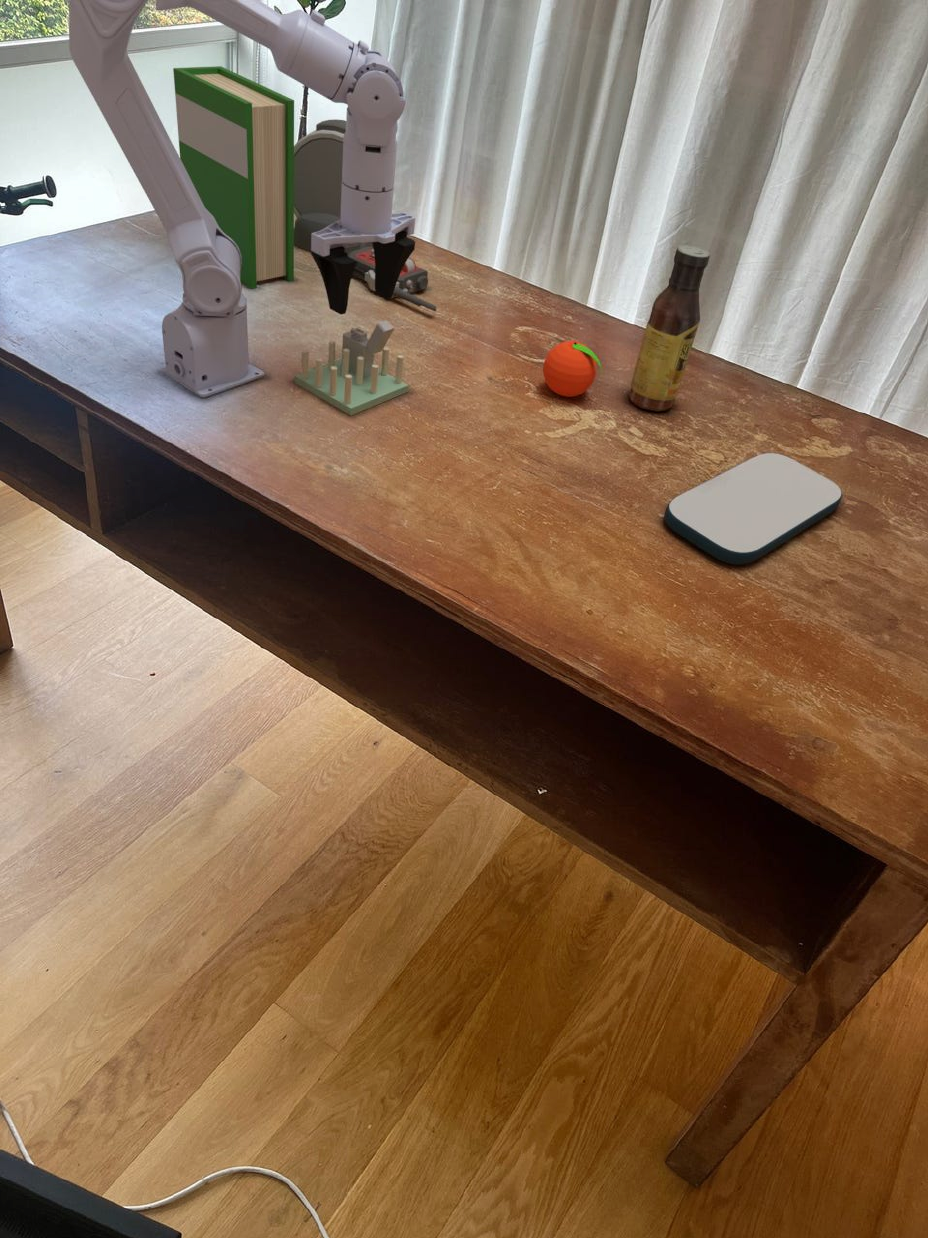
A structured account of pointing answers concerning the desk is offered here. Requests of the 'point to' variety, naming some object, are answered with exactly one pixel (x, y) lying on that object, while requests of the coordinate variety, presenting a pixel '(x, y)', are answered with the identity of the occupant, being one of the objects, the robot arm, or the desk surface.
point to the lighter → (366, 345)
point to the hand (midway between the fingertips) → (360, 303)
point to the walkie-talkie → (406, 283)
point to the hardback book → (241, 164)
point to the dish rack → (351, 381)
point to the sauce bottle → (670, 333)
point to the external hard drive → (752, 507)
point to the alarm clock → (319, 182)
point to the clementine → (570, 368)
